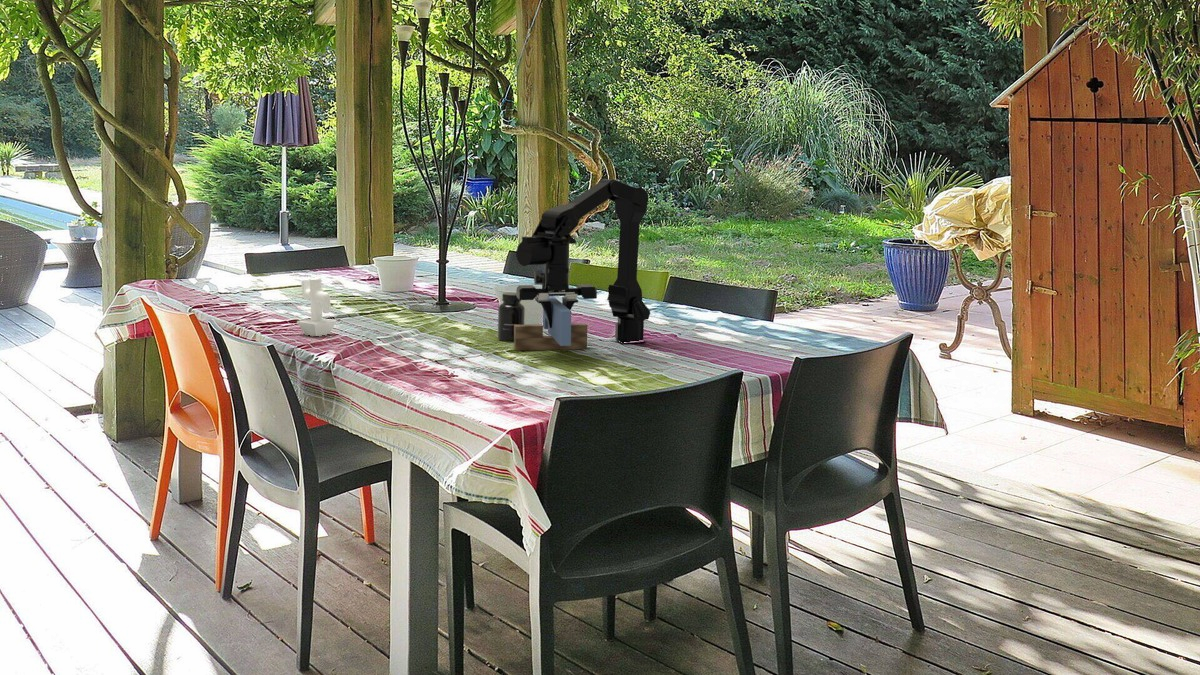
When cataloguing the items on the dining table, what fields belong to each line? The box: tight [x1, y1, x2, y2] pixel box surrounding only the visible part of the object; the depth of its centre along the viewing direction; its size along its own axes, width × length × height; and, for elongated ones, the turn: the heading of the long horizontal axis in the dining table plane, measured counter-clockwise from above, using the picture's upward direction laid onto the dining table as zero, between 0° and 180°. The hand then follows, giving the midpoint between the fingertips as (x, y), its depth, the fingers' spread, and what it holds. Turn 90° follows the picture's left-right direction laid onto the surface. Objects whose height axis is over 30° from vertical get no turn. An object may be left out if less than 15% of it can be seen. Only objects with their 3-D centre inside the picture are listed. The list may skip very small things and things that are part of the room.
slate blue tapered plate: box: [542, 296, 572, 346], centre depth 251 cm, size 24×2×8 cm, turn 13°
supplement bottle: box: [497, 292, 526, 343], centre depth 268 cm, size 7×7×12 cm
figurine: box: [296, 276, 338, 337], centre depth 270 cm, size 7×9×15 cm
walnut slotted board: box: [513, 322, 588, 352], centre depth 258 cm, size 18×2×6 cm, turn 103°
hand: (556, 327), depth 251 cm, fingers closed on slate blue tapered plate, 2 cm apart
